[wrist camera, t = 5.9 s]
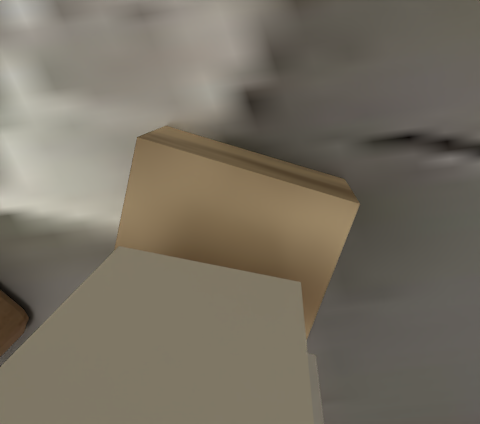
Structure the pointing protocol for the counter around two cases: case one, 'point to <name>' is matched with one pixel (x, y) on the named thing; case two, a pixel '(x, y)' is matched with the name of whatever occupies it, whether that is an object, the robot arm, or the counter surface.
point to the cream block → (165, 349)
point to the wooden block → (10, 322)
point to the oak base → (236, 211)
